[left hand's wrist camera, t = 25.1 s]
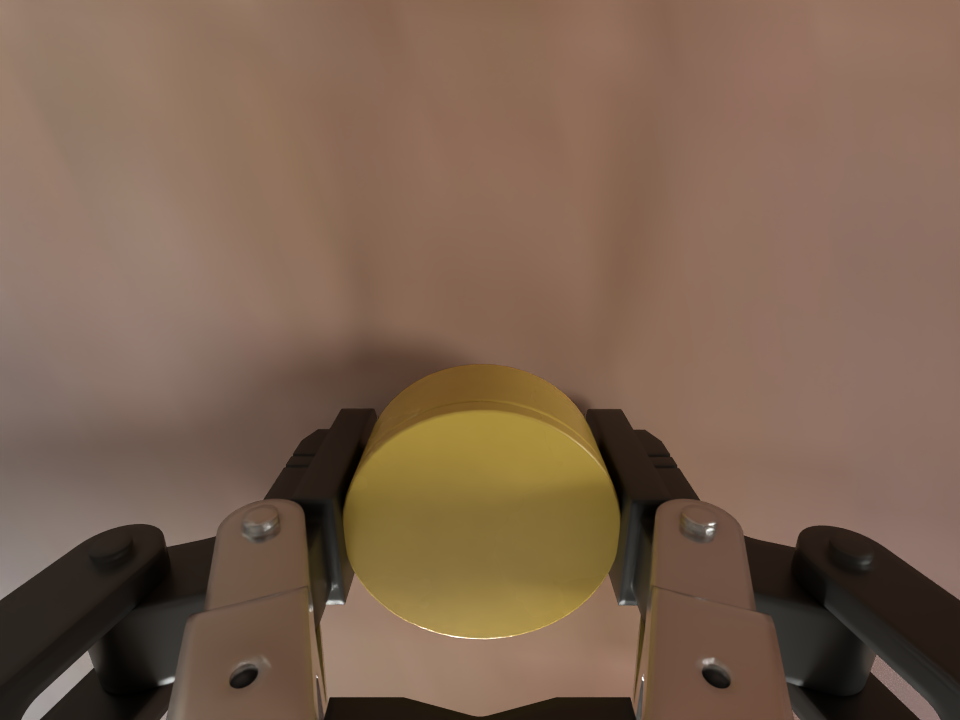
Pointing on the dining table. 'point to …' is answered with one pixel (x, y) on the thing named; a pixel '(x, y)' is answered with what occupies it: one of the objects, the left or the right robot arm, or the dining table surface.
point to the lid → (481, 505)
